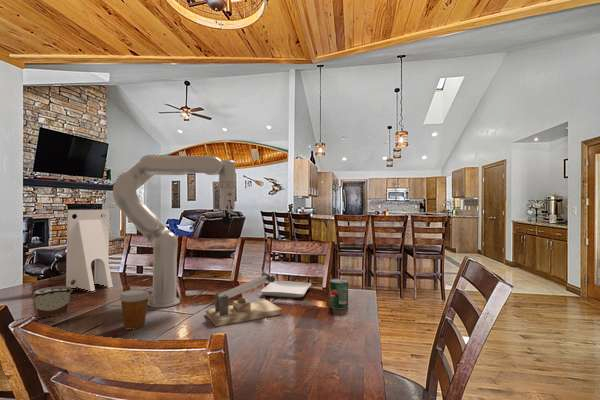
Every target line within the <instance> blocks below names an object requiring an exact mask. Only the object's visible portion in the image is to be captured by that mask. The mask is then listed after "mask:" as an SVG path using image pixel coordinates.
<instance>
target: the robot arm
mask: <svg viewBox="0 0 600 400" xmlns="http://www.w3.org/2000/svg"><path fill="white" fill-rule="evenodd" d="M190 174H205V175H207V176H218V190H220V191H219V192H220V193H219V209H220V210H221V212H222V213H221V215H222V218H221V219H222V220H221V225H222V226H230V223H231V221H230V219H231V211H234V210H235V206H236V205H235V204H236V203H235V190H236V162H235V161H234V160H231V159H222V160H221V159H220V158H219V157H217V156H209V155H207V156H205V155H201V156H200V155H167V154H166V155H162V154H146V155H143V156H141V158H140V159H139V161H138V162H137V163H136V164H135V165H133V166H132V167H131V168H130V169H128V170H127V171H125V172H121V174H119V175H118V176H117V178H116V180H115V181H114V184H113V187H112V195H113V200H114V203H115V205H116V206H117V207H118V208H119V211H121V212H122V213H123V215H124V216H125V217H126V218H127V219H128V221H130V222H131V223H132V224H133V225H134V227H135V228H136V230H137V231H138V232H139V233H141V234H142V235H143V237H145V239H146V240H147V241H148V242H149V243H150V244H151V245H152V246H153V251H152V252H153V254H152V292H151V293H150V296H149V298H148V304H147V306H149V307H150V308H157V309H158V308H159V309H161V308H169V307H172V306H177V305H178V304H180V303H181V299H180V298H179V297H177V276H178V275H177V272H178V269H177V267H178V266H177V265H178V261H177V259H178V247H179V241H178V237H177V235H176V234H175V233H174V232H173V231H171V230H170V229H168V227H167V226H166V225H165V223H163V222H162V221H161V220H160V219H159V217H158V215H157V214H155V212H154V211H152V210H151V209H150V208H149V207H148V206H147V205H146V204H145V203H144V201H143V200H142V199H141V198H140V197H139V195H138V193H137V190H138V189H140V188H141V187H142V186H143V185H145V184H146V183H148V181H149V180H150V179H152V178H153V177H154V176H156V175H157V176H158V175H159V176H160V175H161V176H184V175H190Z"/></svg>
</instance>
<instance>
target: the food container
mask: <svg viewBox="0 0 600 400" xmlns="http://www.w3.org/2000/svg"><path fill="white" fill-rule="evenodd" d="M71 293H73V289H71V287H68V286H66V285H65V286H63V285H61V286H50V287H44V288H40V289H37V290H35V291H34V292H33V294H32V298H34V302H35V311H36V319H37V318H38V317H44V316H51V315H55V314H60V313H66V312H69V305H70V298H71ZM51 317H52V316H51Z"/></svg>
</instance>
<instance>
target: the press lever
mask: <svg viewBox="0 0 600 400" xmlns="http://www.w3.org/2000/svg"><path fill="white" fill-rule="evenodd" d="M274 281H276V278H275V275H274V273H271V272H268V273H266V272H262V274H261V275H260V276H259V277H257V278H255V279H252V280H249V281H247V282H244V283H242V284H240V285H237V286H235V287H233V288H230V289H228V290H225V291H222V292H223V293H220V294H218V299H219V300H220V296H227V295H228V299H231V298H233V297H235V296H238V295H240V294H242V293H245V292H247V291H250V290H251V289H252V290H253V289H254V288H256V287H259V286H261V285H263V284H266V283H268V282H269V283H271V282H272V283H273V282H274Z"/></svg>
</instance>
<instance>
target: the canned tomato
mask: <svg viewBox="0 0 600 400" xmlns="http://www.w3.org/2000/svg"><path fill="white" fill-rule="evenodd" d="M329 307H330V308H332V309H335V310H345V309H348V308H349V280H348V279H346V278H331V279H329Z"/></svg>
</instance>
